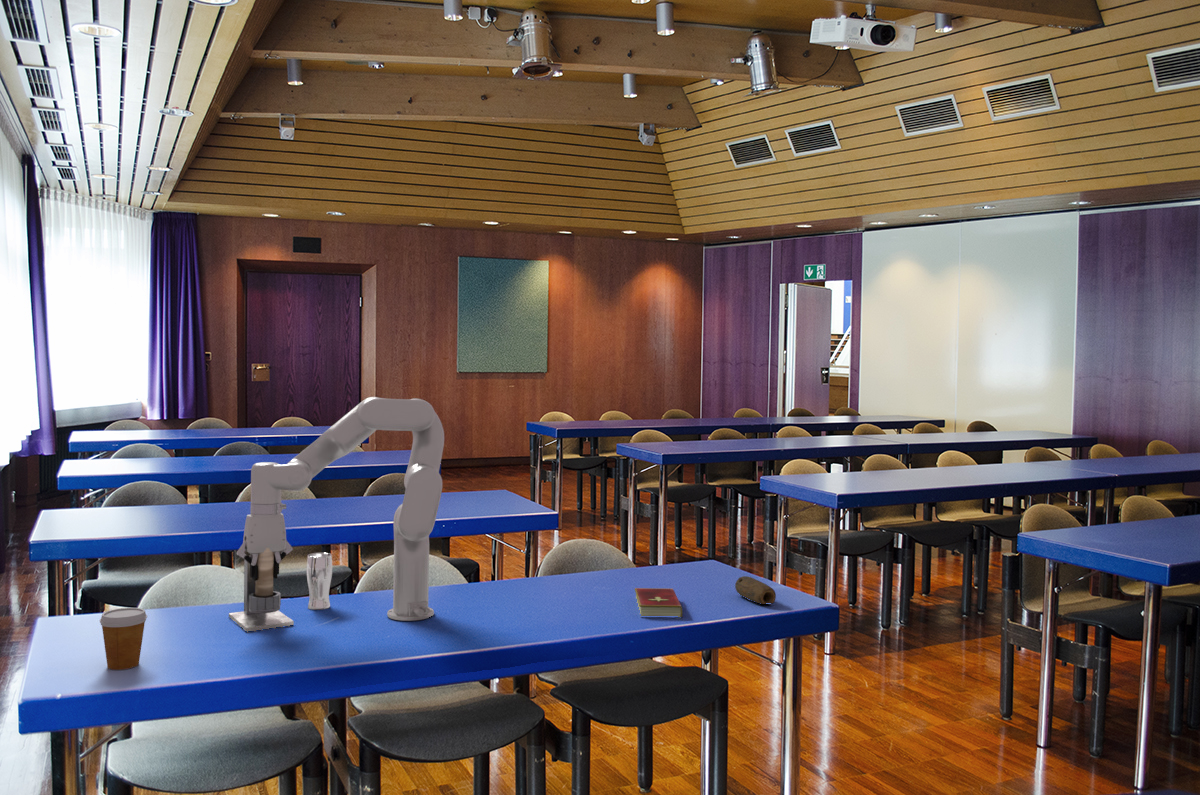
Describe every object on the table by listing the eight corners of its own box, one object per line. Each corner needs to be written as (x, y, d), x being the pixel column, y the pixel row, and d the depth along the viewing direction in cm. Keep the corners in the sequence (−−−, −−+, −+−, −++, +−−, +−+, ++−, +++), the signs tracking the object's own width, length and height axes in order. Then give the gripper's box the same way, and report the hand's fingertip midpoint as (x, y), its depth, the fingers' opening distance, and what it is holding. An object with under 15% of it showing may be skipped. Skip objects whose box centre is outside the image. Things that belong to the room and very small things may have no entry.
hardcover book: (674, 601, 274) (674, 587, 274) (682, 619, 253) (682, 604, 253) (634, 601, 274) (634, 587, 274) (639, 619, 253) (639, 604, 253)
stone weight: (730, 597, 279) (731, 575, 279) (749, 595, 283) (749, 573, 282) (760, 608, 266) (761, 586, 266) (779, 606, 269) (780, 584, 269)
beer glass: (335, 604, 261) (336, 552, 260) (325, 610, 254) (326, 557, 253) (312, 603, 261) (312, 552, 261) (302, 609, 254) (302, 556, 254)
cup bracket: (293, 625, 238) (294, 564, 238) (246, 632, 231) (247, 569, 231) (273, 611, 252) (274, 553, 252) (228, 617, 245) (229, 558, 244)
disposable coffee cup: (122, 657, 210) (123, 605, 209) (156, 661, 207) (156, 609, 207) (88, 669, 200) (89, 615, 200) (123, 674, 198) (124, 619, 197)
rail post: (275, 595, 238) (276, 542, 238) (258, 597, 235) (259, 543, 235) (270, 591, 242) (271, 539, 241) (253, 593, 239) (254, 540, 239)
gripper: (293, 505, 246) (292, 572, 246) (228, 509, 236) (227, 579, 236) (302, 509, 240) (301, 577, 240) (236, 513, 230) (234, 585, 230)
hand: (264, 577), depth 238 cm, fingers closed on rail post, 4 cm apart
